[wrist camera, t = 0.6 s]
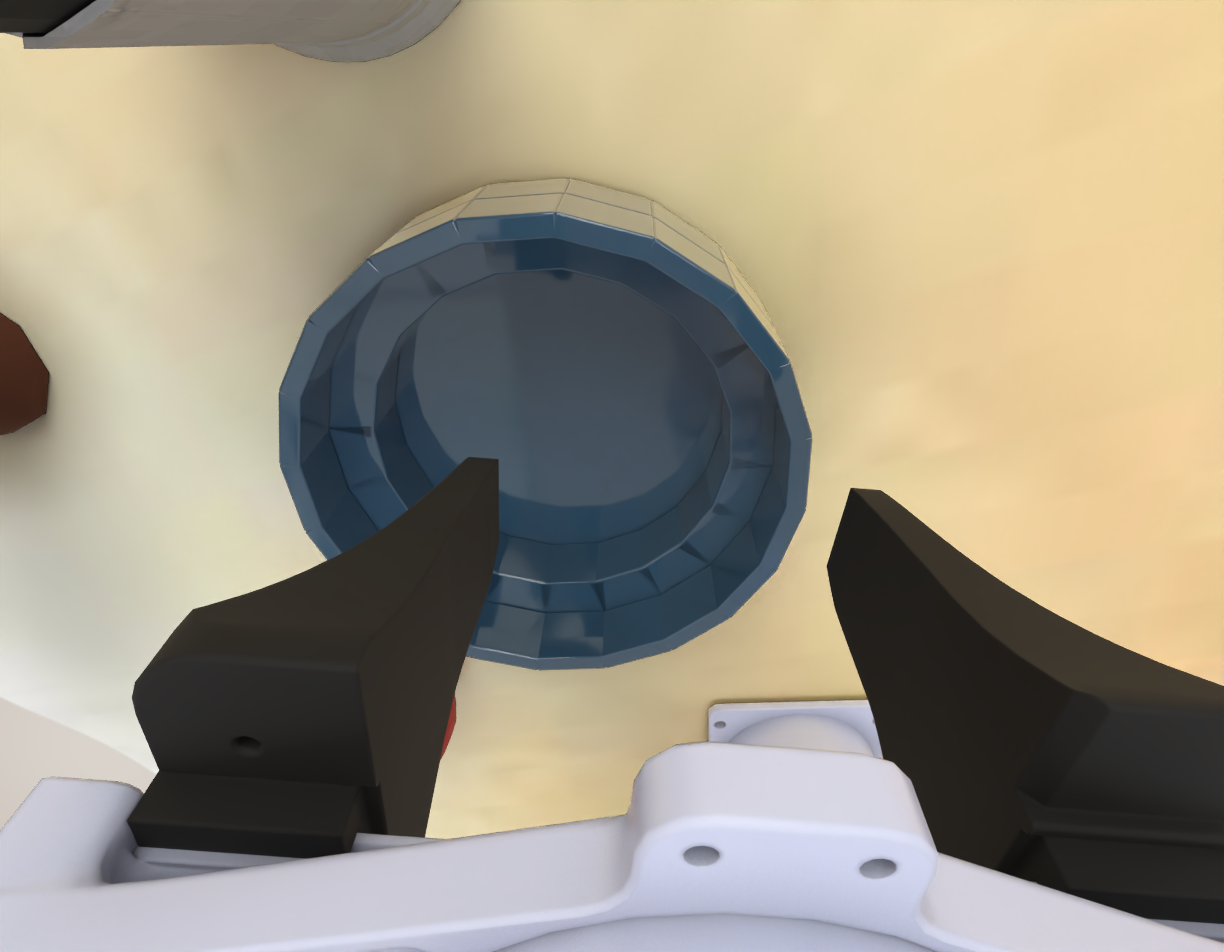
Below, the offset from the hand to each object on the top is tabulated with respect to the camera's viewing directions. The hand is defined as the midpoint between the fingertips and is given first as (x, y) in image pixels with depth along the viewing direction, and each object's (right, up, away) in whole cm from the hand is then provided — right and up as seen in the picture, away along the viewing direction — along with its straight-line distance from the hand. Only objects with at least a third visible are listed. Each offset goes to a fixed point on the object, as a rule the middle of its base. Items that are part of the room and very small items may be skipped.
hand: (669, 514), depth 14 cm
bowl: (-3, +3, +10) cm, 11 cm away
